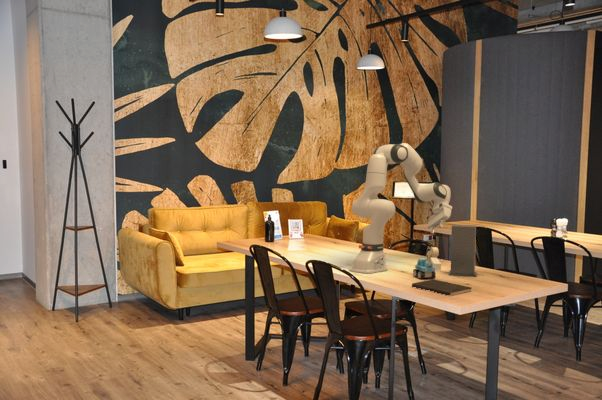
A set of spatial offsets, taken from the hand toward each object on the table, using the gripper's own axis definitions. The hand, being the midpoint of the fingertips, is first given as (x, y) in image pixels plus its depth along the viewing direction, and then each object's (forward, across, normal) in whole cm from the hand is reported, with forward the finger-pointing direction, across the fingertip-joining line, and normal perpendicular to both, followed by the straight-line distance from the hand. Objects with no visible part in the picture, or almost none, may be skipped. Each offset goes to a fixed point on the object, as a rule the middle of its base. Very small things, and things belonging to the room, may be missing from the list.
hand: (436, 230), depth 352 cm
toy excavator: (+43, +22, -11) cm, 50 cm away
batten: (+23, 0, +4) cm, 23 cm away
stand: (+31, +20, +10) cm, 38 cm away
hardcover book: (+56, +43, -12) cm, 71 cm away
